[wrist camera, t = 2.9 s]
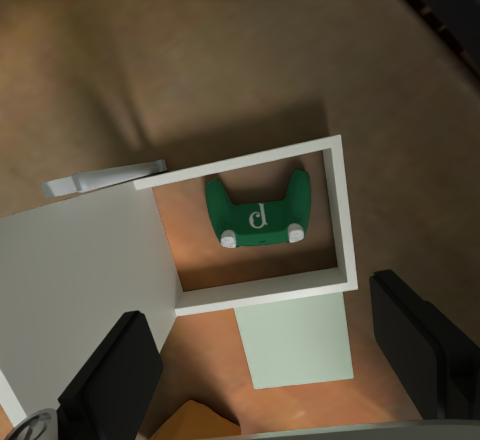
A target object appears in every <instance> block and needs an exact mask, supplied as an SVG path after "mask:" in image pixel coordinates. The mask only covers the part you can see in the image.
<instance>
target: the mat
mask: <svg viewBox="0 0 480 440" xmlns="http://www.w3.org/2000/svg"><path fill="white" fill-rule="evenodd" d="M234 311H235V315H236V318H237V322H238V326H239V330H240V334H241V338H242V342H243V346H244V350H245V354H246V358H247V361H248V365H249V369H250V373H251V377H252V381H253V385H254V389H261V388H270V387H280V386H289V385H298V384H307V383H316V382H325V381H335V380H344V379H353V378H354V377H353V369H352V361H351V354H350V346H349V338H348V331H347V323H346V315H345V308H344V300H343V292H336V293H329V294H323V295H316V296H309V297H303V298H296V299H289V300H283V301H276V302H269V303H263V304H256V305H249V306H243V307H236V308H234Z"/></svg>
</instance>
